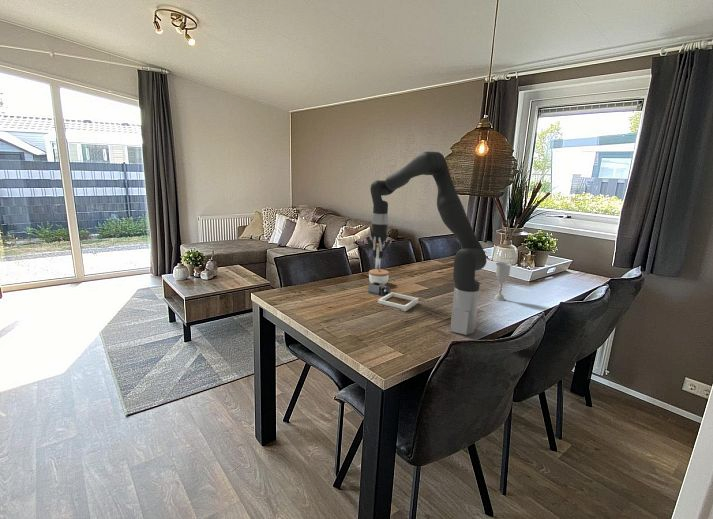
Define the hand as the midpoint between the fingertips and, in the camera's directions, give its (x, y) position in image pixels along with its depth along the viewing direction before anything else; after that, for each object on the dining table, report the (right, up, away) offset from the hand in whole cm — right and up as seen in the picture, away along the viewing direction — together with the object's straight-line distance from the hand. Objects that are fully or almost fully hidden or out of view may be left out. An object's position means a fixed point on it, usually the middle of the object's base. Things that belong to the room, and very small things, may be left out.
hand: (378, 257), depth 186 cm
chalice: (+61, -21, +3) cm, 64 cm away
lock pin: (0, -5, +1) cm, 6 cm away
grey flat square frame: (+9, -22, -9) cm, 25 cm away
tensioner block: (+1, -18, +3) cm, 19 cm away
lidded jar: (+1, -15, +18) cm, 24 cm away
